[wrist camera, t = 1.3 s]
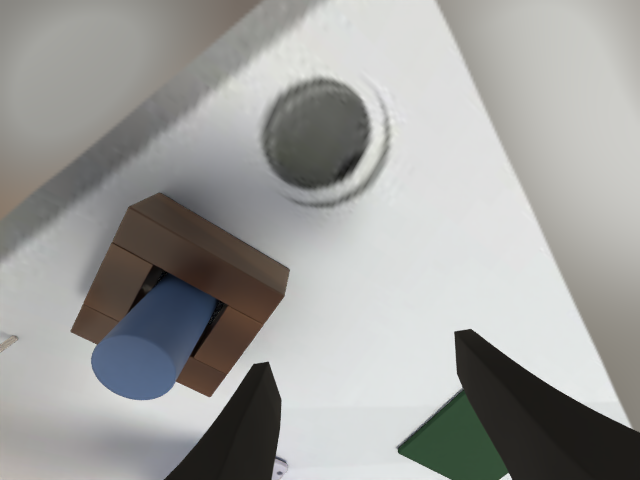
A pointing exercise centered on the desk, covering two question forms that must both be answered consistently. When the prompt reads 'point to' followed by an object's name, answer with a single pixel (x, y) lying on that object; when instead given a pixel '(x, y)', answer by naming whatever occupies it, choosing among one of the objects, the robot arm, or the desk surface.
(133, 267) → the holder
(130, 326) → the peg
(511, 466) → the robot arm
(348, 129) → the desk surface
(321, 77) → the desk surface
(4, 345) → the lollipop
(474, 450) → the mat
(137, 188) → the desk surface
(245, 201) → the desk surface
